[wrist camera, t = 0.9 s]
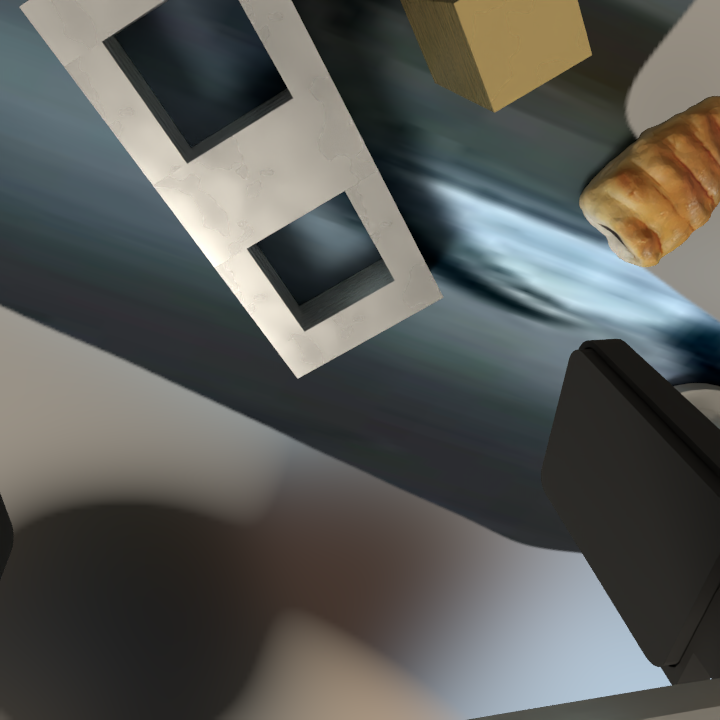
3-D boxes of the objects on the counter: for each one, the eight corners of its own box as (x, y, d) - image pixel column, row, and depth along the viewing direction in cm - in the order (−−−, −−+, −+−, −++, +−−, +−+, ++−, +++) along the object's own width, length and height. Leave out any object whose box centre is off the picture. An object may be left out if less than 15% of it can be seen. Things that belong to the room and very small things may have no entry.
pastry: (698, 58, 31) (751, 67, 28) (754, 144, 35) (808, 161, 31) (561, 200, 34) (596, 222, 31) (625, 267, 37) (662, 294, 34)
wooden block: (509, 38, 29) (592, 55, 22) (435, 82, 30) (494, 112, 23) (479, -52, 27) (560, -63, 20) (399, -2, 27) (453, 3, 21)
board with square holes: (428, 274, 35) (443, 297, 32) (293, 350, 36) (297, 378, 33) (224, -121, 24) (223, -133, 22) (40, 4, 25) (19, 6, 23)
